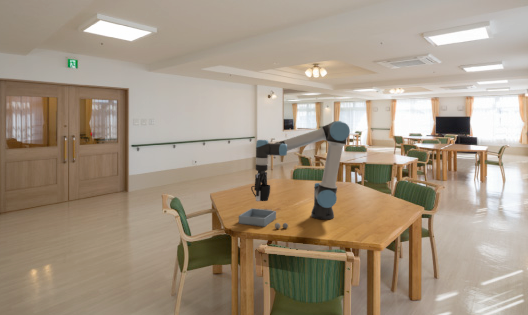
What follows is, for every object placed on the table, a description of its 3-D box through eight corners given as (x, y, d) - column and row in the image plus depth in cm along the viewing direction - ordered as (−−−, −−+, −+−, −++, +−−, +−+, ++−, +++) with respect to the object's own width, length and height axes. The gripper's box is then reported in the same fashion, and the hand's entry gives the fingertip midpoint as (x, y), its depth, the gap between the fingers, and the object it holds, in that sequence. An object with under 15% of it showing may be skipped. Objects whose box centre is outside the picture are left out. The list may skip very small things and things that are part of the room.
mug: (251, 198, 212) (252, 183, 211) (270, 199, 212) (270, 184, 211) (250, 201, 204) (250, 186, 203) (269, 202, 203) (270, 186, 202)
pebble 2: (288, 227, 196) (288, 222, 196) (286, 229, 194) (287, 224, 193) (283, 227, 198) (283, 222, 197) (281, 228, 195) (281, 223, 194)
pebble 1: (281, 228, 196) (281, 222, 195) (279, 229, 193) (279, 224, 192) (275, 227, 197) (275, 221, 197) (273, 229, 194) (273, 223, 194)
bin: (276, 218, 216) (276, 211, 215) (264, 227, 198) (264, 219, 197) (251, 215, 222) (251, 208, 222) (238, 223, 204) (238, 215, 204)
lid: (271, 210, 235) (271, 207, 235) (269, 216, 222) (269, 212, 221) (258, 210, 237) (258, 207, 236) (254, 215, 223) (254, 212, 223)
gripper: (262, 162, 217) (261, 195, 220) (249, 165, 198) (248, 202, 200) (273, 163, 214) (272, 197, 217) (260, 166, 195) (259, 203, 197)
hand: (260, 199), depth 208 cm, fingers closed on mug, 8 cm apart
